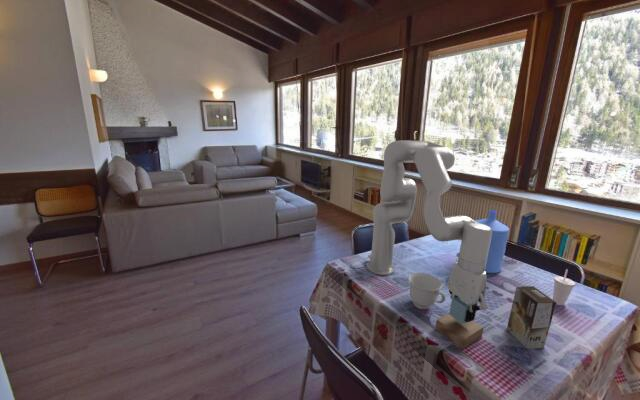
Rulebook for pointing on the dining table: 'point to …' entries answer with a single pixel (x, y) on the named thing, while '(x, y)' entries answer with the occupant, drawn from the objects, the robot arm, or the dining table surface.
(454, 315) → the slate block
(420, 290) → the teacup
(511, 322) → the coffee box
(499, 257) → the water jug
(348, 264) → the dining table surface
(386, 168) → the robot arm
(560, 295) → the smoothie
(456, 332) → the tan flat block
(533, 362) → the dining table surface
